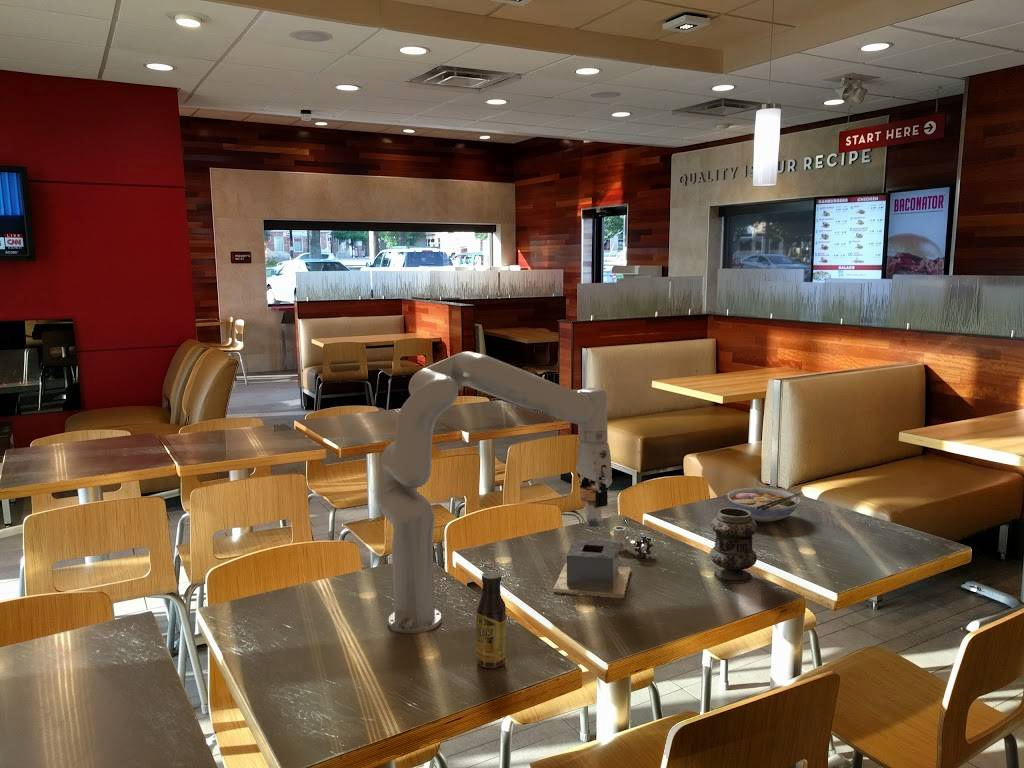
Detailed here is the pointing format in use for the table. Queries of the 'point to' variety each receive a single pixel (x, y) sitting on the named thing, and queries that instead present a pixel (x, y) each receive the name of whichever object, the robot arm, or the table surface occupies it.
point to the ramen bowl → (764, 503)
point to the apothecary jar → (733, 545)
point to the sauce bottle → (491, 623)
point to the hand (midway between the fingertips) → (593, 501)
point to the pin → (591, 506)
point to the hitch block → (593, 570)
